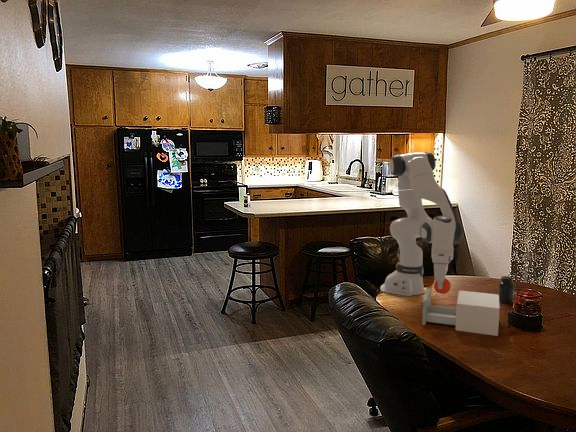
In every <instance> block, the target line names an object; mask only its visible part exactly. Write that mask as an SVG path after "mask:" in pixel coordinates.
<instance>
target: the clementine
mask: <svg viewBox="0 0 576 432" xmlns="http://www.w3.org/2000/svg"><path fill="white" fill-rule="evenodd" d="M433 281H434V282H433ZM432 282H433V288H434V290H435V292H436V293H438V294H440V295H445V294H447V293H449V292H450V290H451V287H452V286H451V282H450V281H449V279H447V278H446V277H445V279H444V281H443V288H442V289H438V281H435V280H432Z"/></svg>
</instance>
